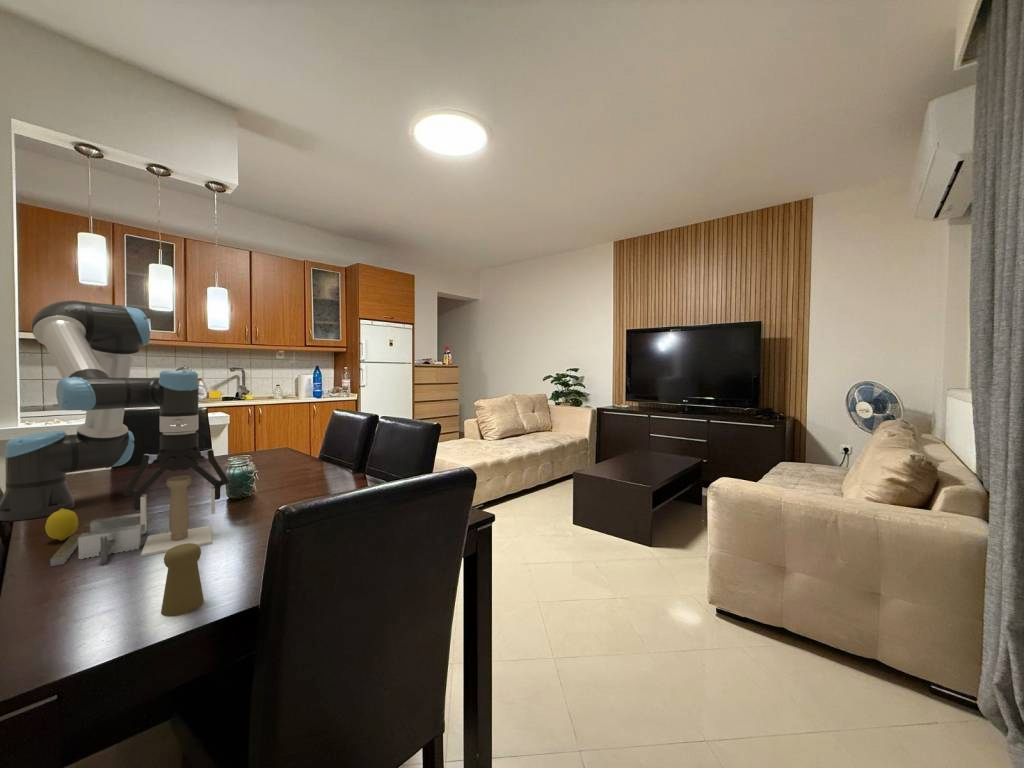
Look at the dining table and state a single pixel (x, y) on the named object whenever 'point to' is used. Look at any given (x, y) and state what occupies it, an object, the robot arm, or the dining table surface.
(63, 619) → the dining table surface
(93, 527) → the vise
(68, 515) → the lemon
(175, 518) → the handle
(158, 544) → the mat
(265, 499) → the dining table surface
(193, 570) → the cork
